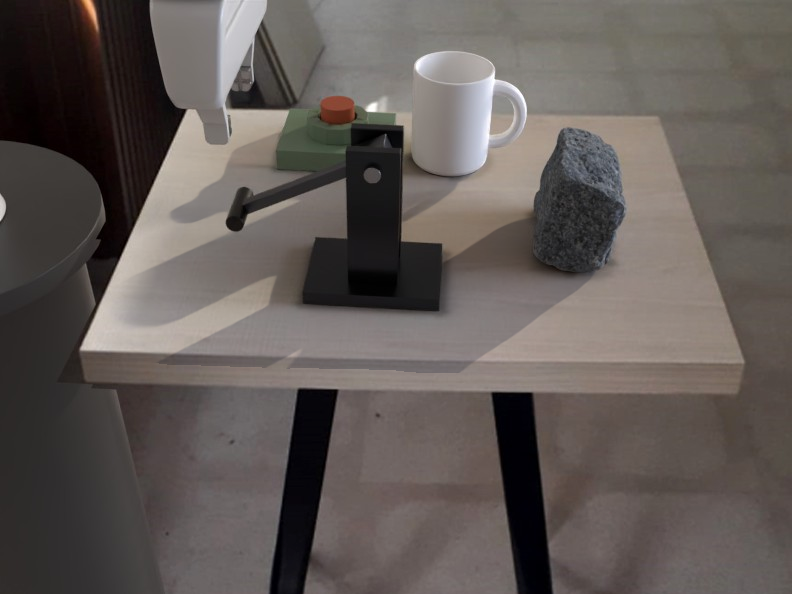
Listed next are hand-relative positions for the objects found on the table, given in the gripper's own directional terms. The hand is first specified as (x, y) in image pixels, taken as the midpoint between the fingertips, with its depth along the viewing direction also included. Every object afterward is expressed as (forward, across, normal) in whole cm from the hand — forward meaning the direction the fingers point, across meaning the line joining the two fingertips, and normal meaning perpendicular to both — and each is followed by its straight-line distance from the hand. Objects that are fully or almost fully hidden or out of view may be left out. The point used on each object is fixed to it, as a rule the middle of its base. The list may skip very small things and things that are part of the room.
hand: (231, 113), depth 77 cm
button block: (+16, -24, +5) cm, 29 cm away
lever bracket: (+16, 0, +11) cm, 19 cm away
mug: (+16, -23, +19) cm, 34 cm away
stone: (+16, -8, +29) cm, 34 cm away
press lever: (+7, 0, +6) cm, 10 cm away
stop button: (+12, -24, +5) cm, 28 cm away
